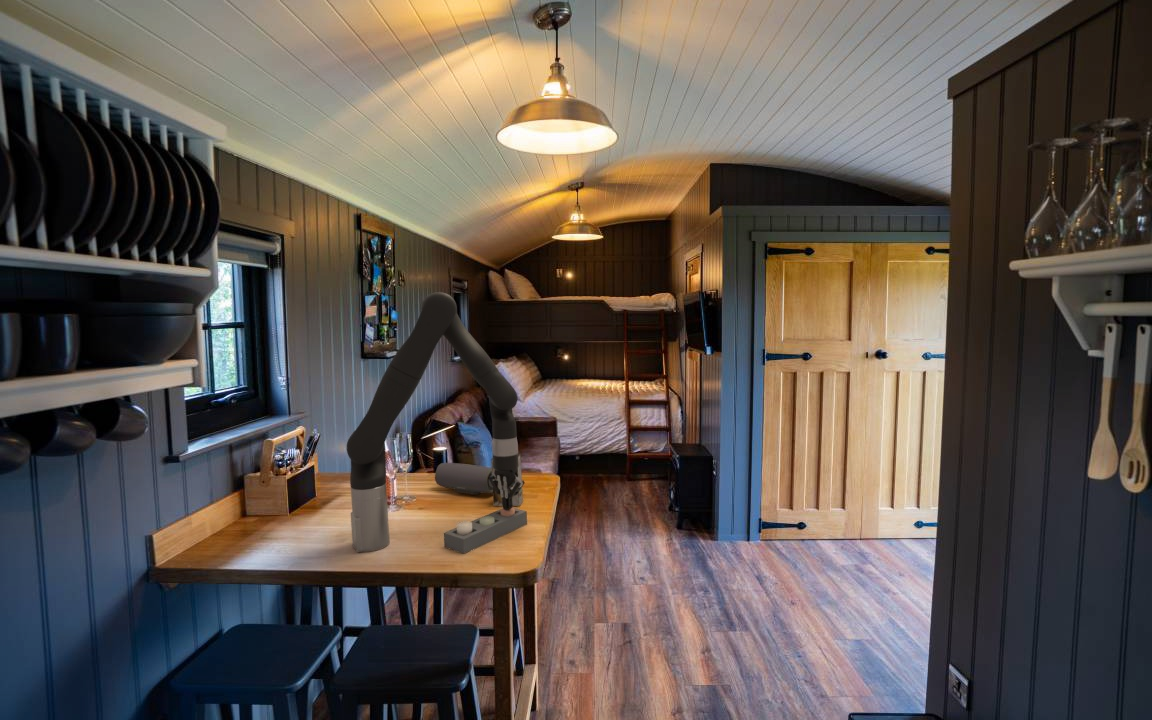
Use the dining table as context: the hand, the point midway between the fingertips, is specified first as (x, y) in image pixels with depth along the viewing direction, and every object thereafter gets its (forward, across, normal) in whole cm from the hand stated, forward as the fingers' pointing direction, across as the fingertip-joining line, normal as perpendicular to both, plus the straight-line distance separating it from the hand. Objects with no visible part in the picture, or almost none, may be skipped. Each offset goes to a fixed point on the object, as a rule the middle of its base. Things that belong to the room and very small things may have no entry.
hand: (507, 509), depth 169 cm
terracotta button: (+4, 0, 0) cm, 4 cm away
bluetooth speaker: (+5, +35, -16) cm, 39 cm away
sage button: (+4, 0, +9) cm, 9 cm away
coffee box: (+5, +14, -15) cm, 21 cm away
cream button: (+2, 0, +17) cm, 17 cm away
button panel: (+5, 0, +8) cm, 10 cm away
